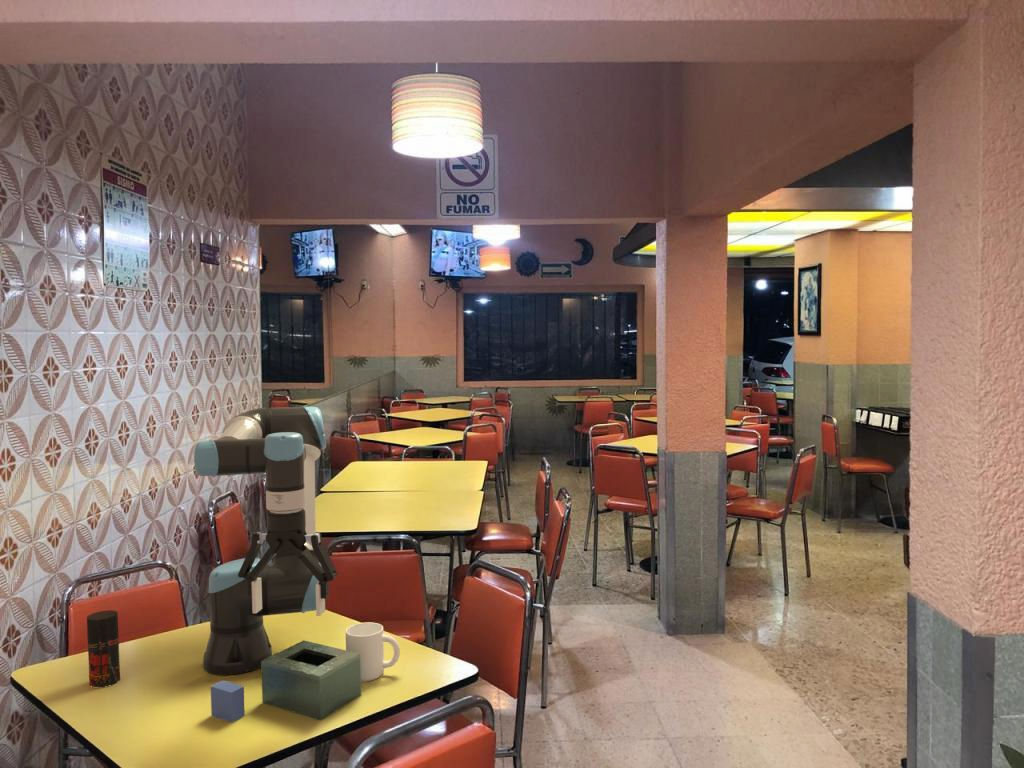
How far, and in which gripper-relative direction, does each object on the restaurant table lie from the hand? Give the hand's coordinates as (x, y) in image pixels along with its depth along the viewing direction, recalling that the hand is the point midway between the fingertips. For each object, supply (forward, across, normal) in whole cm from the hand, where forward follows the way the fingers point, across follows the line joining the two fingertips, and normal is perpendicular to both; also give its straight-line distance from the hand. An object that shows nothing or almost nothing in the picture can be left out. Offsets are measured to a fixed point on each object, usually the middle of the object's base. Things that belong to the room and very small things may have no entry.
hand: (288, 612), depth 150 cm
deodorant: (+20, -46, +6) cm, 50 cm away
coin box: (+19, +3, +3) cm, 20 cm away
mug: (+20, +12, +15) cm, 28 cm away
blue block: (+19, -11, -6) cm, 23 cm away
